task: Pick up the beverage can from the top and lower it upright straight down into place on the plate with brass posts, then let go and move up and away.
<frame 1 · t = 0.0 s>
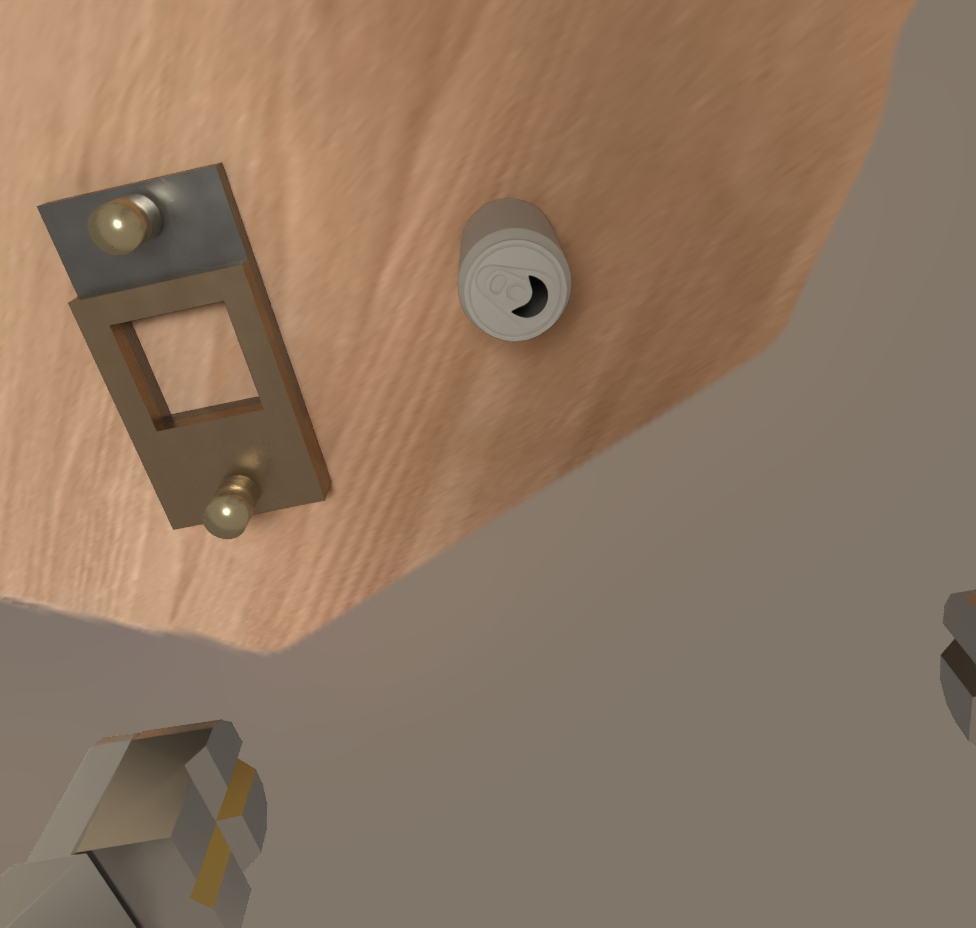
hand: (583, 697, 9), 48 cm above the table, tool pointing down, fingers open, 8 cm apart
beverage can: (507, 244, 54), on the table
plate with brass posts: (202, 353, 57), on the table
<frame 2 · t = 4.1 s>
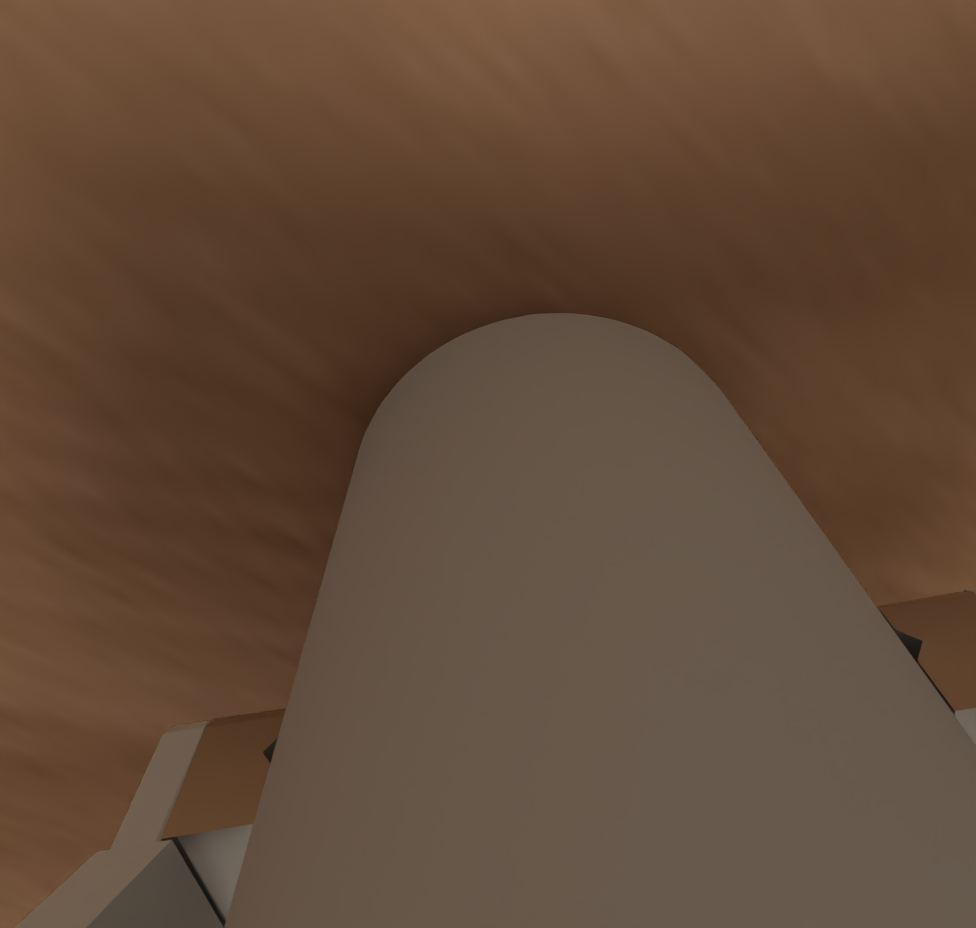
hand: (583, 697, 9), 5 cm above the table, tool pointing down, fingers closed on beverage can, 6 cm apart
beverage can: (545, 475, 14), on the table, touching gripper
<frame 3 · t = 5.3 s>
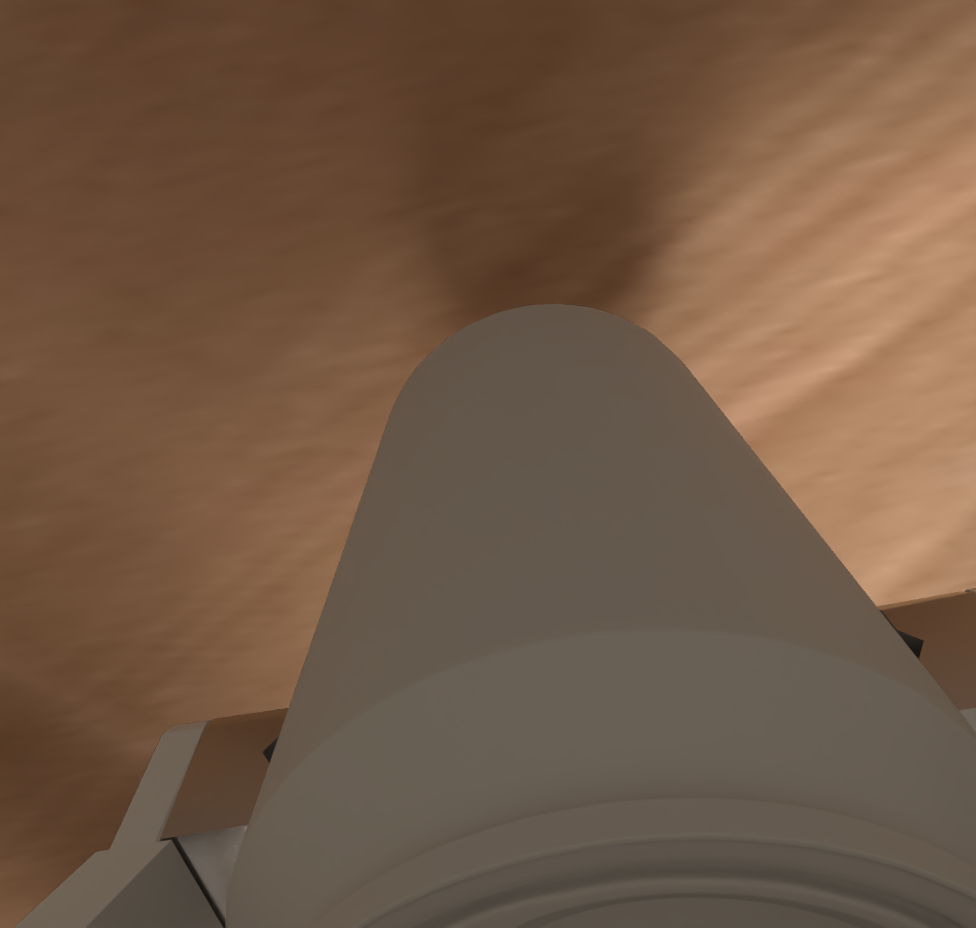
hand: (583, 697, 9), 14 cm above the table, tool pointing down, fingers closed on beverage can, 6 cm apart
beverage can: (544, 449, 16), point 6 cm above the table, touching gripper
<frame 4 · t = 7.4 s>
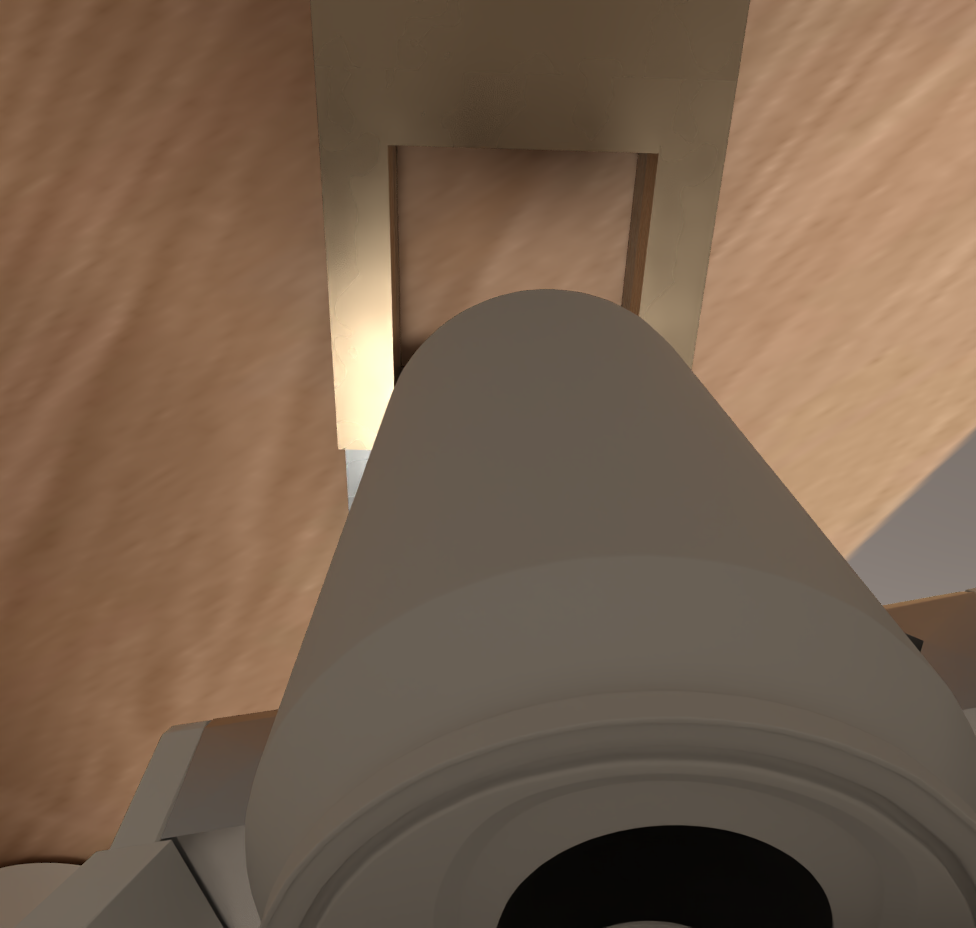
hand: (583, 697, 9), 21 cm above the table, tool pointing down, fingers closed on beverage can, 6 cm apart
beverage can: (539, 431, 17), point 13 cm above the table, touching gripper
plate with brass posts: (512, 261, 28), on the table
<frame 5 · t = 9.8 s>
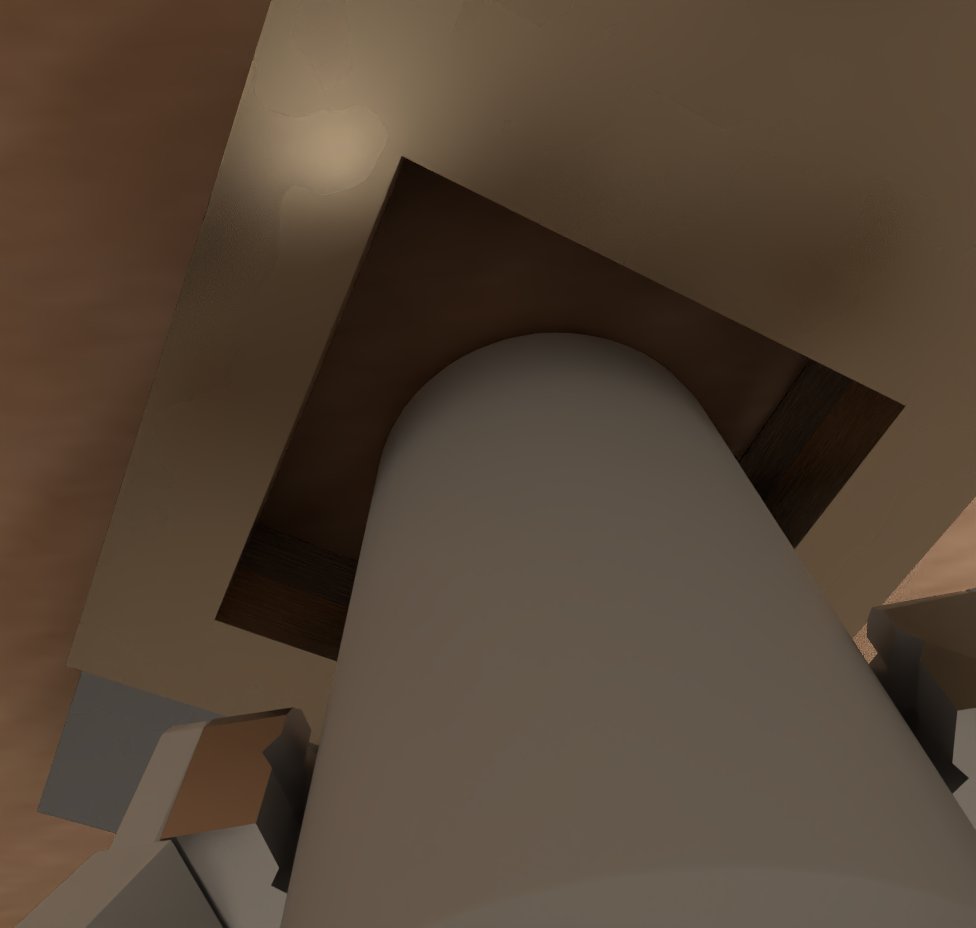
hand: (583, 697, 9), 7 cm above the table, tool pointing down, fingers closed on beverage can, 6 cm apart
beverage can: (544, 472, 16), resting in plate with brass posts, touching gripper
plate with brass posts: (526, 436, 15), on the table
when the fingers open (7 cm above the table, at t = 10.7 s): beverage can stays where it is, resting in plate with brass posts.
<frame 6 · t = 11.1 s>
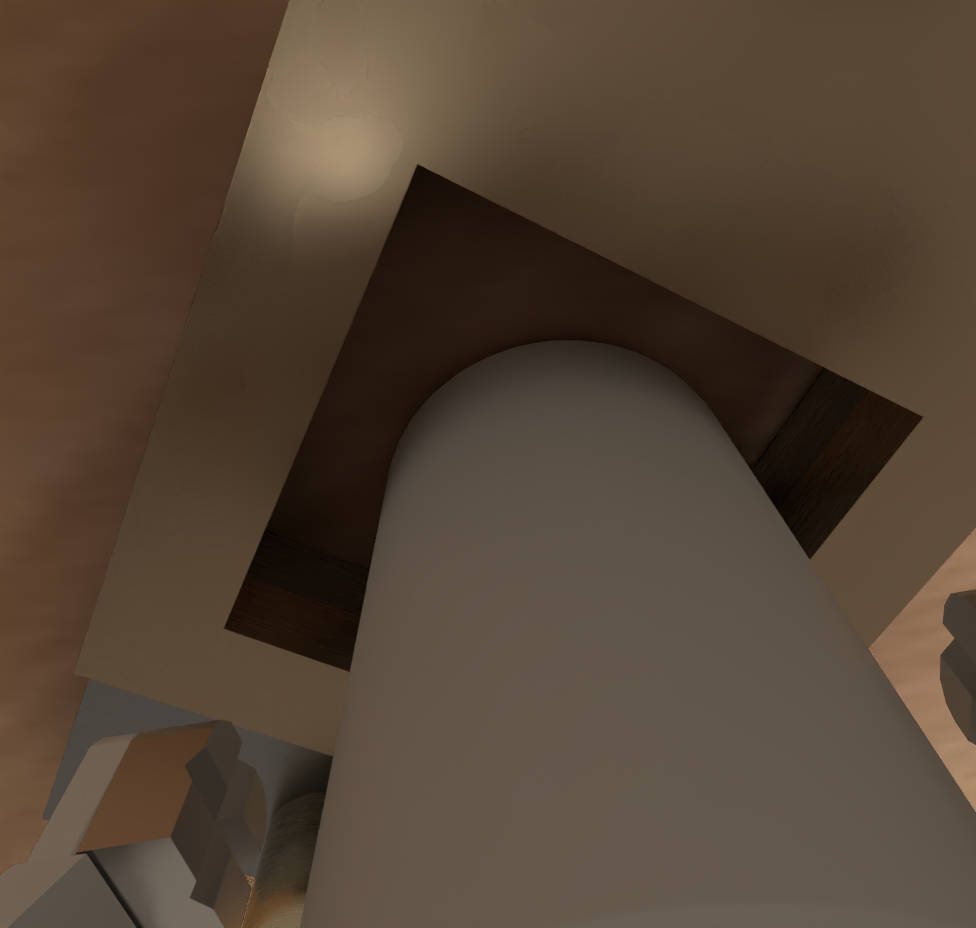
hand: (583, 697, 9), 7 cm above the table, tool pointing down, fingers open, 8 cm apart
beverage can: (554, 479, 16), resting in plate with brass posts
plate with brass posts: (537, 444, 15), on the table
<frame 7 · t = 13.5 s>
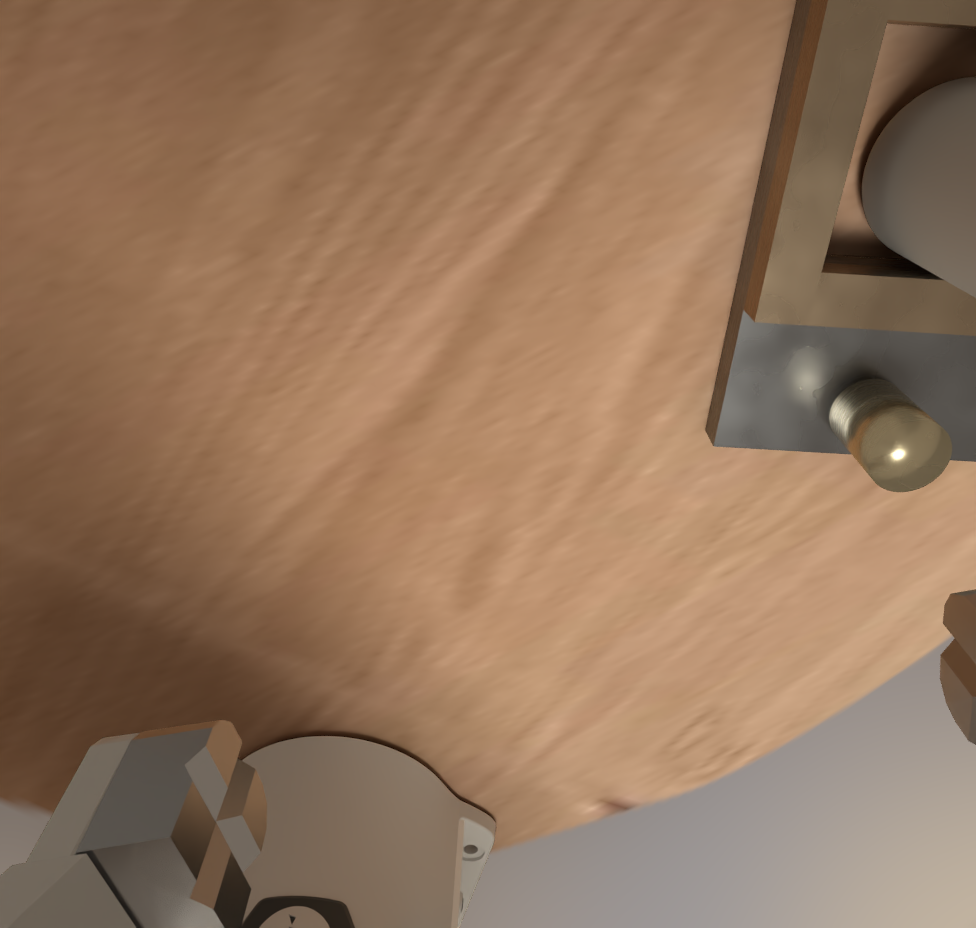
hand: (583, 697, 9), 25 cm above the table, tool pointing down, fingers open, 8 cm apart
beverage can: (937, 169, 30), resting in plate with brass posts
plate with brass posts: (927, 151, 30), on the table
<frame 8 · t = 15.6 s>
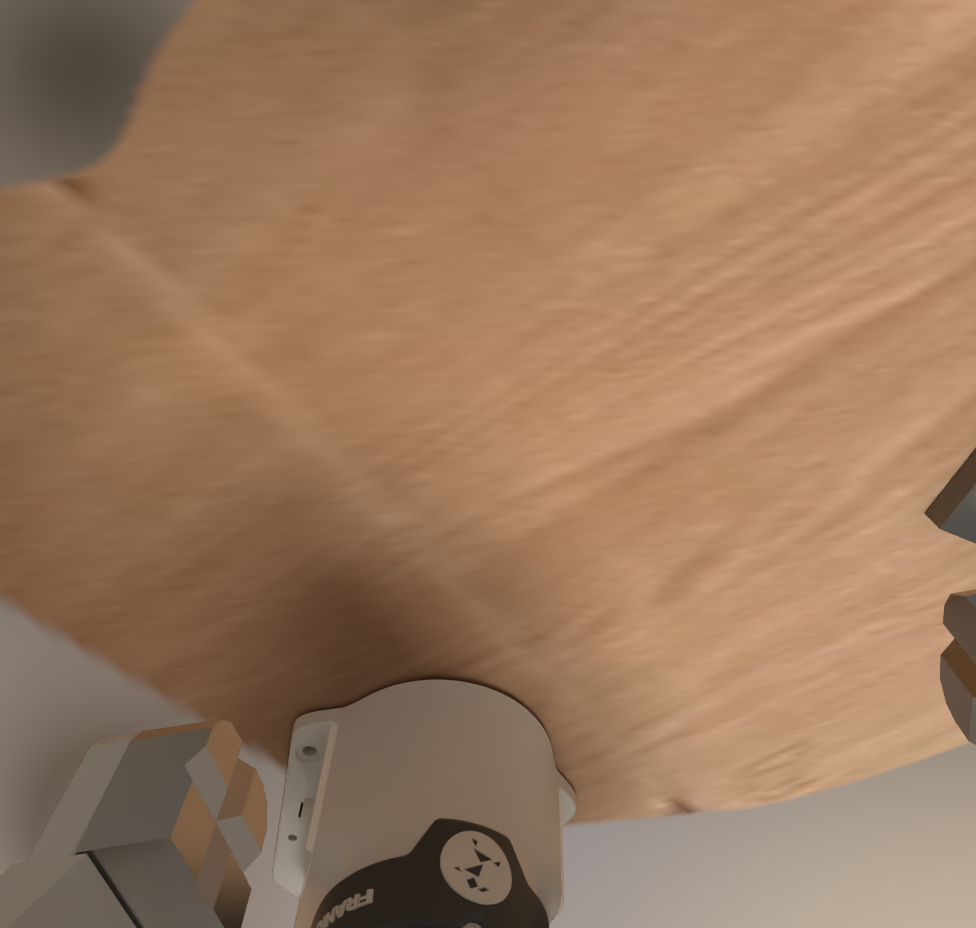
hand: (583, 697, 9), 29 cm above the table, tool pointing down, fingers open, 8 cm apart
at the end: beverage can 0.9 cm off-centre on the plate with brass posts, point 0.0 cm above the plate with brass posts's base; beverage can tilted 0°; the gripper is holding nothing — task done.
